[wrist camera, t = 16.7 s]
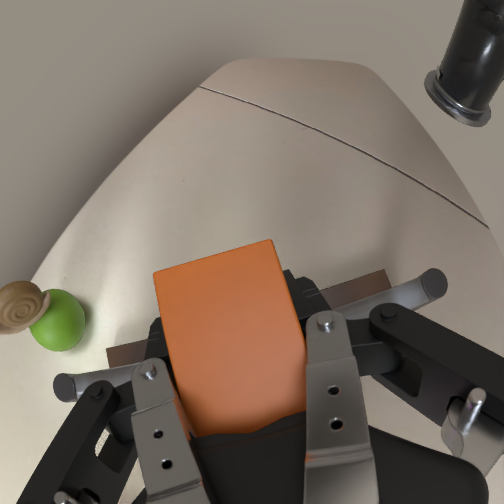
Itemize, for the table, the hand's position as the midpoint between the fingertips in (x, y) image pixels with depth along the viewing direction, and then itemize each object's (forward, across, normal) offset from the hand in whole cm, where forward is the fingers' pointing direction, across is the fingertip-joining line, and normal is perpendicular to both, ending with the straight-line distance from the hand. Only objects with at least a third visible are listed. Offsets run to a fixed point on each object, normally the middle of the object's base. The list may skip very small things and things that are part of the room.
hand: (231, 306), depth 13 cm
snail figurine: (+12, +16, +5) cm, 21 cm away
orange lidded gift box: (+4, 0, +6) cm, 7 cm away
